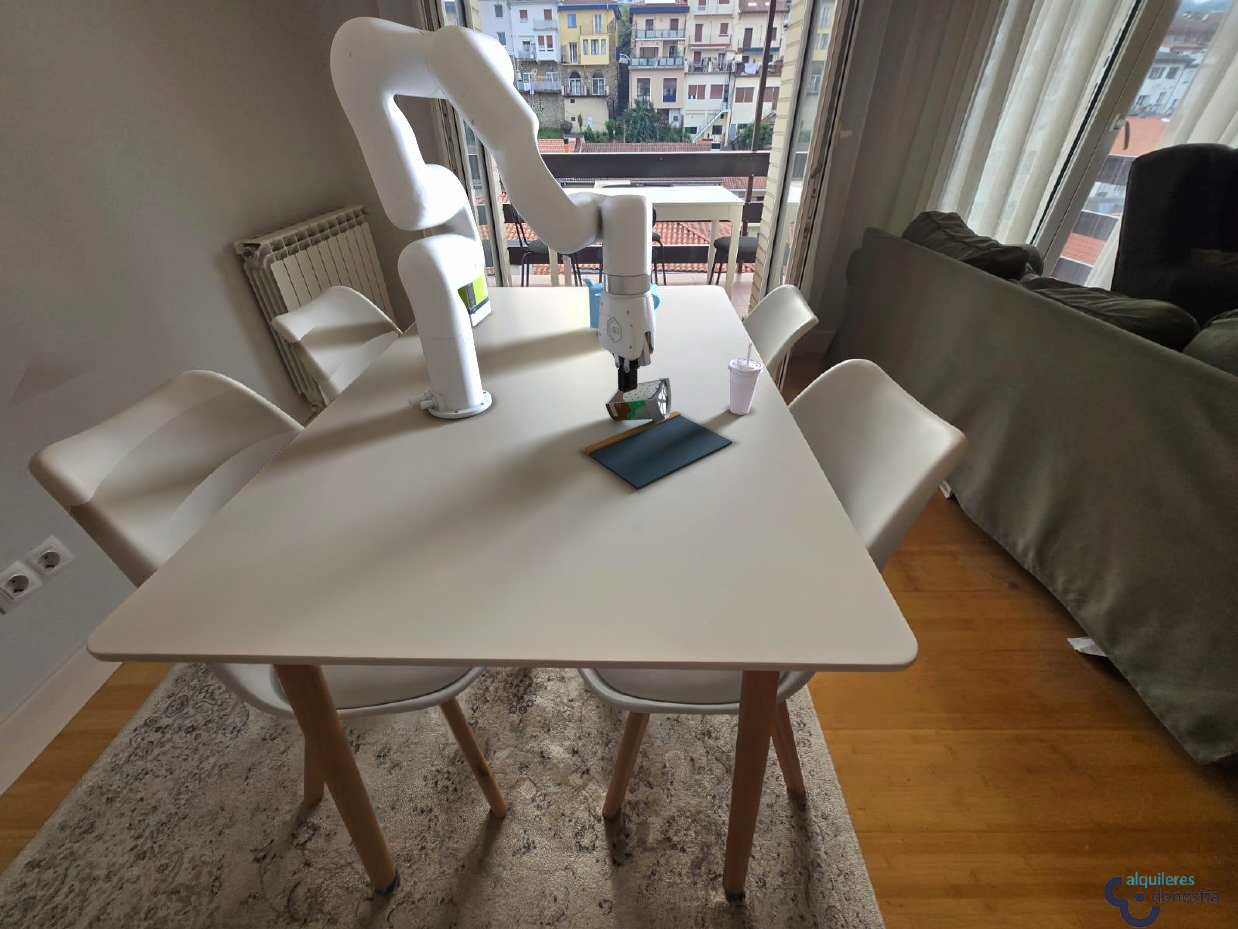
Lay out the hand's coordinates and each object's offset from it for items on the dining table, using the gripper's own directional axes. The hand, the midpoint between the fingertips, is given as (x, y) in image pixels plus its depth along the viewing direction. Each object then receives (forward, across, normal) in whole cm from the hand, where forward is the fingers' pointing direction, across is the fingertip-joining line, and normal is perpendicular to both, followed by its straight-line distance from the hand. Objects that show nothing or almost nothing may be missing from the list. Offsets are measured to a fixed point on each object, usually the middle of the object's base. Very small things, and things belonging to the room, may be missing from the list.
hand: (627, 389), depth 90 cm
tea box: (+8, -84, +6) cm, 84 cm away
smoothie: (+8, +8, +22) cm, 25 cm away
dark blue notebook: (+8, +9, 0) cm, 12 cm away
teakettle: (+8, -45, +34) cm, 57 cm away
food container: (+6, -5, +1) cm, 8 cm away
